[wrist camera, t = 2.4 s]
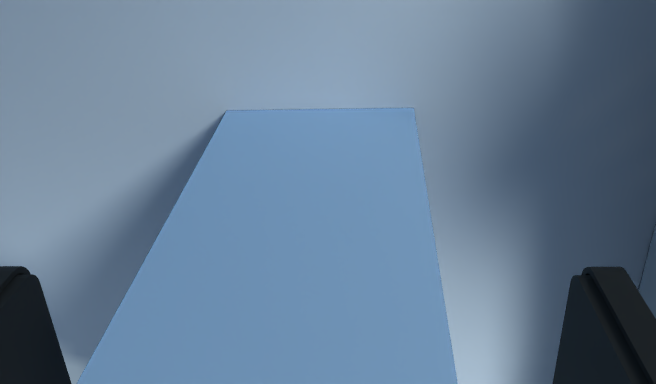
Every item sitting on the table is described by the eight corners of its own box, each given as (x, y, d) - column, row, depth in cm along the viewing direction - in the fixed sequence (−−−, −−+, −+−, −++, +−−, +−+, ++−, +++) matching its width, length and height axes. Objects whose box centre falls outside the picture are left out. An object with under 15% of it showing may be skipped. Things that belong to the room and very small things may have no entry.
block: (226, 110, 13) (68, 397, 6) (413, 107, 13) (460, 405, 6) (248, 278, 16) (147, 630, 9) (408, 279, 15) (439, 643, 8)
